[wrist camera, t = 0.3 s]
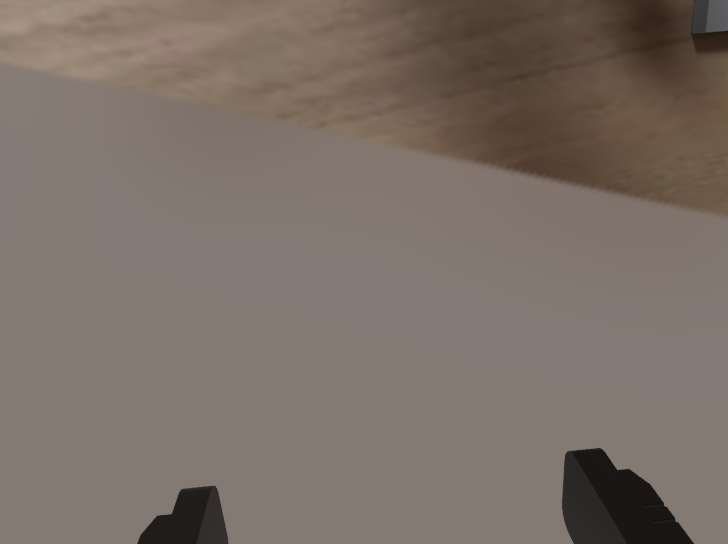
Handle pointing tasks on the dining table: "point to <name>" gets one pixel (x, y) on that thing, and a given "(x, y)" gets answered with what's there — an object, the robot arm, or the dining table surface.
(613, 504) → the robot arm
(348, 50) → the dining table surface
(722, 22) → the socket block
